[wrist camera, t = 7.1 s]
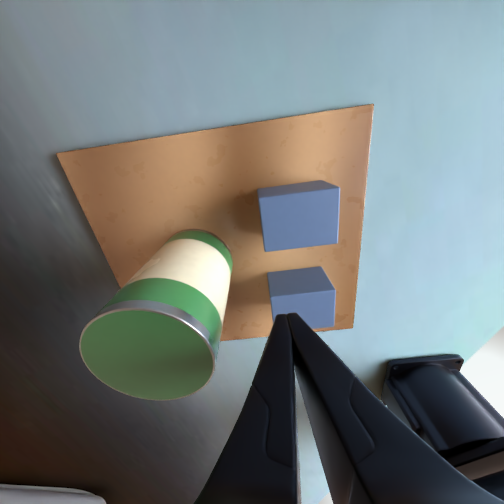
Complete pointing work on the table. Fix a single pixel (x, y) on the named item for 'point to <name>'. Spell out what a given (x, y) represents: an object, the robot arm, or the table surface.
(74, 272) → the table surface
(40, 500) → the square plate
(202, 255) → the green tin
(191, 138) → the cork mat
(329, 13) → the table surface
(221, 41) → the table surface
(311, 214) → the blue blocks
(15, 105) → the table surface
